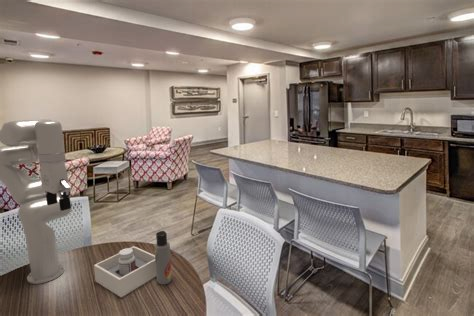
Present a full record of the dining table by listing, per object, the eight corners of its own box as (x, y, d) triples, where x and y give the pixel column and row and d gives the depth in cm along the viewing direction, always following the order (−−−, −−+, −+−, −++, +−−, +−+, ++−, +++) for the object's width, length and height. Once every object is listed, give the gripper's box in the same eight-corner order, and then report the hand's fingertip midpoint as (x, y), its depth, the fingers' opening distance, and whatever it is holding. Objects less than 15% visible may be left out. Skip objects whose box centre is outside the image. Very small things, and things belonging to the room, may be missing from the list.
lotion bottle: (174, 278, 114) (172, 230, 110) (165, 286, 108) (162, 237, 105) (163, 274, 116) (160, 228, 112) (153, 282, 111) (150, 234, 107)
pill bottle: (133, 271, 119) (131, 245, 117) (138, 277, 114) (136, 251, 112) (118, 276, 115) (115, 250, 113) (123, 284, 110) (120, 256, 108)
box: (95, 281, 112) (93, 265, 111) (135, 260, 127) (134, 246, 125) (121, 297, 102) (119, 279, 101) (161, 273, 117) (159, 257, 116)
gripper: (28, 157, 98) (36, 205, 101) (51, 162, 88) (59, 215, 91) (52, 154, 104) (58, 199, 107) (76, 158, 94) (82, 208, 97)
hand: (59, 206), depth 99 cm, fingers open, 9 cm apart
